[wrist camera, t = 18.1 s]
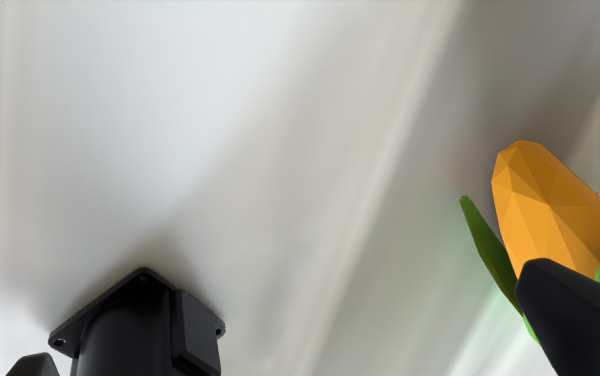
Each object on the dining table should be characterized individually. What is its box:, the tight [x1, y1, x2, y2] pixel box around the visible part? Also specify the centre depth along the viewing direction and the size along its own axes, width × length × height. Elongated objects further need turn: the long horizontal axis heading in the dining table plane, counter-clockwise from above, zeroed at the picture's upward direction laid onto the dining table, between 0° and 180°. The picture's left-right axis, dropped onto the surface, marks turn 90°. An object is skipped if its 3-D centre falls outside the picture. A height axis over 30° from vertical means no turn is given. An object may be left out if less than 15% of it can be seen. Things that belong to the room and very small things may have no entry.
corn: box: [460, 140, 600, 346], centre depth 26 cm, size 7×8×20 cm
